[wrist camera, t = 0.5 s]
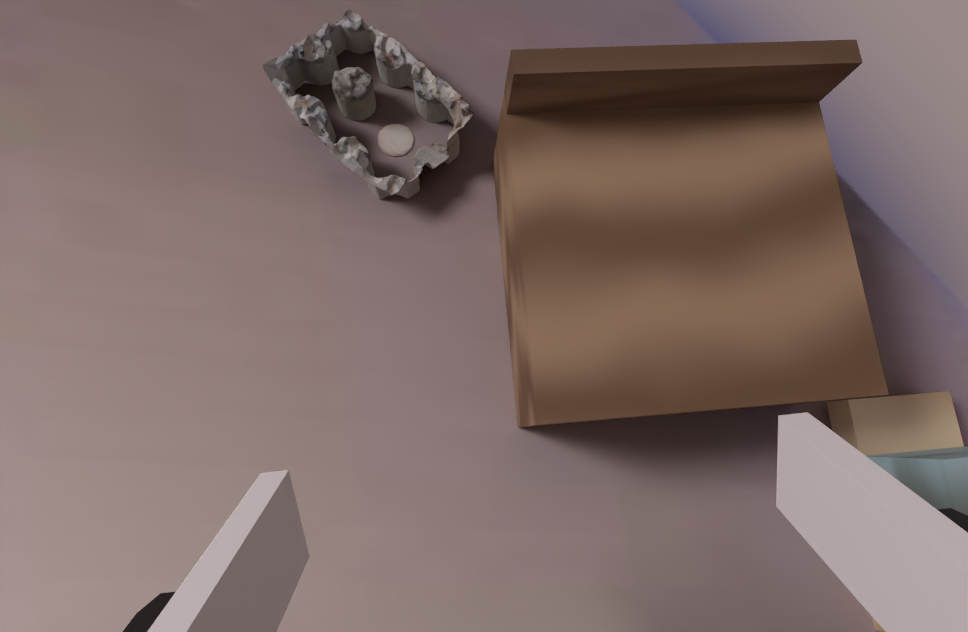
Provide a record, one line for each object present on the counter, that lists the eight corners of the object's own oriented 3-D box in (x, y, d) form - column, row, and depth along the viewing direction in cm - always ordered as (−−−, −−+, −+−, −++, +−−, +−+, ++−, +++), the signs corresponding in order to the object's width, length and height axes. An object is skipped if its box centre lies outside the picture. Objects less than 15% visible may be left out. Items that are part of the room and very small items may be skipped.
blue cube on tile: (974, 615, 30) (1130, 667, 23) (871, 627, 29) (999, 684, 23) (919, 394, 32) (1044, 382, 26) (823, 402, 32) (925, 392, 25)
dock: (793, 404, 32) (947, 388, 22) (518, 427, 30) (551, 422, 21) (742, 150, 35) (856, 39, 25) (492, 162, 34) (511, 49, 24)
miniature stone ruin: (478, 149, 34) (483, 112, 30) (385, 224, 33) (377, 194, 29) (367, 33, 35) (357, -18, 31) (272, 100, 34) (249, 55, 30)
